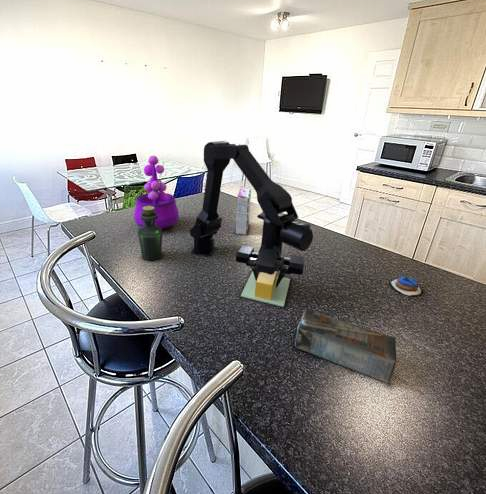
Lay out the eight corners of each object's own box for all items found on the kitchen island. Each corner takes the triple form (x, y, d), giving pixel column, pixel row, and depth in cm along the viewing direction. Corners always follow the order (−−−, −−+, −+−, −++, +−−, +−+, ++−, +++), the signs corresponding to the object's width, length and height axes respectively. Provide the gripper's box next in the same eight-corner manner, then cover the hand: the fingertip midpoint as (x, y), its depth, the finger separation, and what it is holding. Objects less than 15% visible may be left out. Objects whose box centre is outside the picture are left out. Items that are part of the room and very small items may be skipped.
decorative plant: (126, 229, 122) (118, 157, 110) (150, 214, 138) (146, 150, 125) (165, 238, 115) (161, 162, 103) (186, 221, 131) (185, 153, 119)
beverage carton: (301, 326, 72) (305, 304, 69) (390, 358, 64) (398, 335, 61) (293, 348, 66) (297, 325, 63) (390, 386, 57) (400, 362, 55)
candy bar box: (237, 223, 130) (239, 188, 123) (249, 224, 129) (251, 189, 123) (234, 234, 120) (236, 195, 113) (246, 235, 119) (249, 197, 113)
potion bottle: (165, 260, 100) (163, 211, 92) (141, 263, 97) (136, 213, 90) (161, 249, 107) (159, 202, 99) (139, 252, 104) (134, 204, 97)
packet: (263, 274, 92) (264, 261, 90) (277, 277, 91) (279, 263, 89) (254, 296, 82) (256, 281, 80) (270, 300, 80) (272, 285, 78)
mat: (240, 296, 82) (240, 295, 82) (252, 271, 94) (252, 270, 94) (283, 307, 78) (283, 306, 78) (290, 279, 90) (290, 278, 90)
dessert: (405, 295, 83) (402, 274, 84) (387, 295, 89) (385, 275, 91) (429, 295, 84) (426, 274, 85) (410, 295, 91) (407, 275, 92)
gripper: (231, 243, 76) (228, 292, 82) (305, 257, 70) (296, 309, 76) (242, 227, 85) (239, 272, 92) (308, 238, 79) (300, 285, 86)
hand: (266, 284), depth 86 cm, fingers open, 5 cm apart
